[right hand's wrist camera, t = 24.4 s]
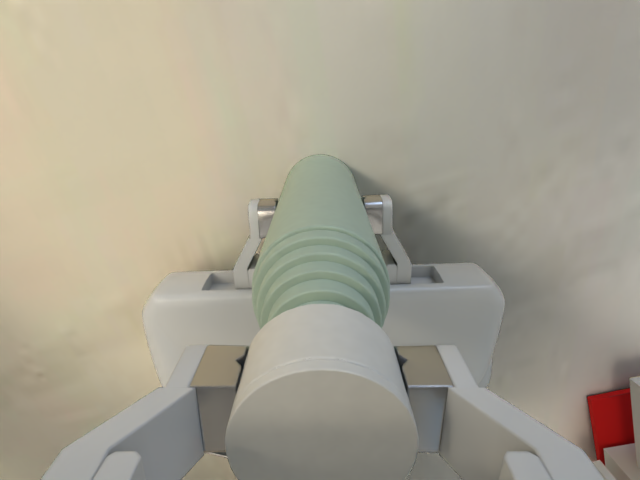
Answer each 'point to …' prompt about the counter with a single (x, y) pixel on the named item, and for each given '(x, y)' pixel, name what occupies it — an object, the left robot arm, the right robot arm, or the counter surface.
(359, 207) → the bottle
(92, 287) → the counter surface
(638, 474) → the toy
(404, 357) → the right robot arm
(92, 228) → the counter surface
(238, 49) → the counter surface
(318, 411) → the cap
